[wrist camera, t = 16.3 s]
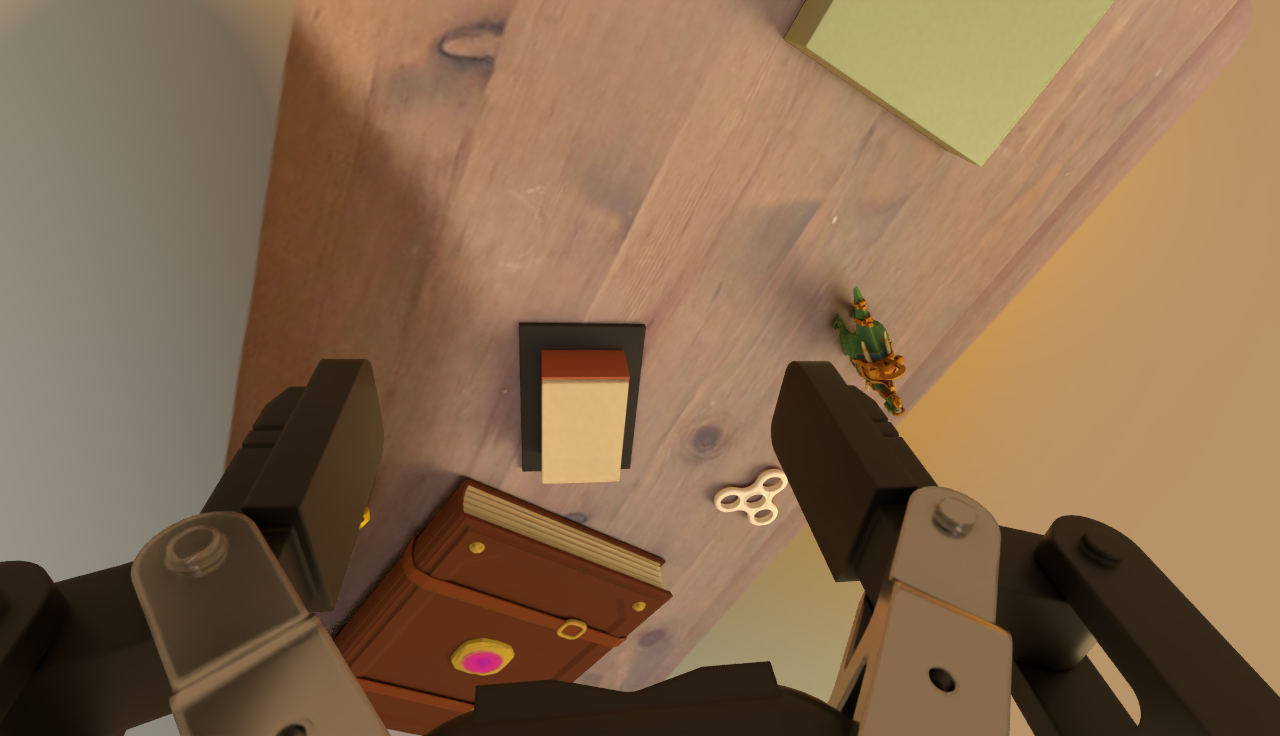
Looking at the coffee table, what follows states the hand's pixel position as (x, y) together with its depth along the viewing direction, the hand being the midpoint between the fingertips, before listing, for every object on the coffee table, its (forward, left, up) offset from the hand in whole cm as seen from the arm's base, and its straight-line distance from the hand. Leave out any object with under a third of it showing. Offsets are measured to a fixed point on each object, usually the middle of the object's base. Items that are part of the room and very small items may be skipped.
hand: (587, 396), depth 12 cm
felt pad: (+11, -19, -28) cm, 36 cm away
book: (+13, -47, -28) cm, 56 cm away
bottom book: (+17, +14, -28) cm, 36 cm away
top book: (+11, -19, -28) cm, 35 cm away
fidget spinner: (+30, -22, -28) cm, 47 cm away
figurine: (+26, -4, -28) cm, 39 cm away
